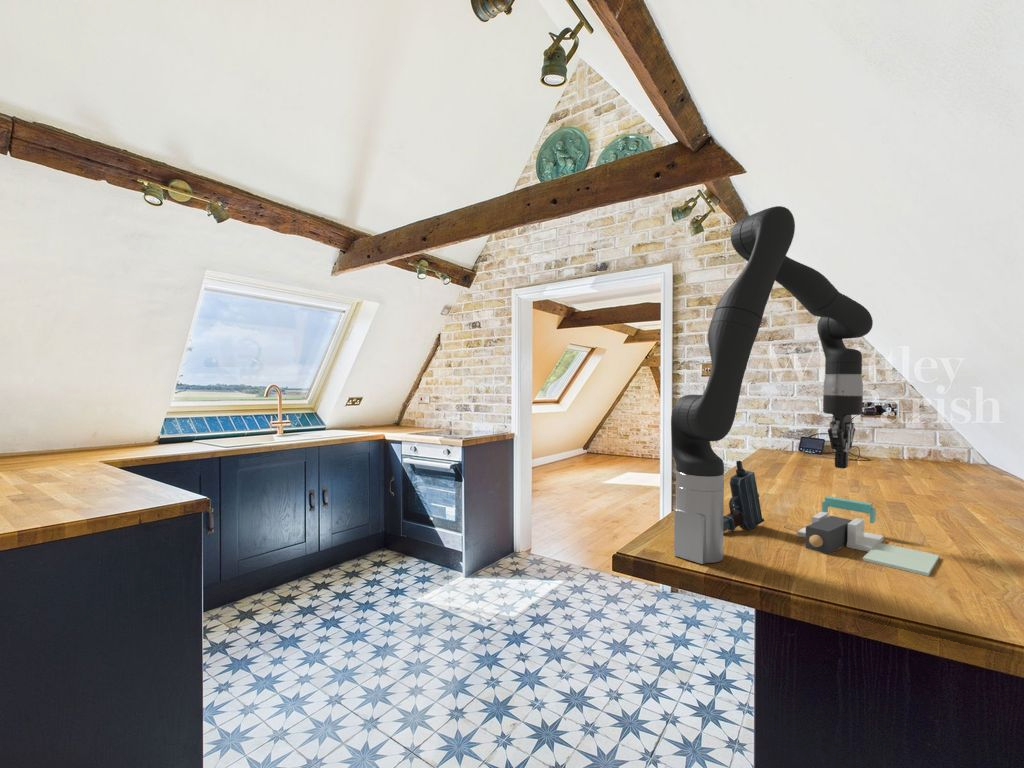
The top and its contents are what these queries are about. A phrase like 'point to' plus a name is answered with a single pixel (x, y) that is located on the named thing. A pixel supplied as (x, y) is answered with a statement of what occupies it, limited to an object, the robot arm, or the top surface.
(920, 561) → the mat
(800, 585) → the top surface
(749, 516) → the gun
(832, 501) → the teal drawer handle
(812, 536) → the grey block with knob
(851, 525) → the clamp
